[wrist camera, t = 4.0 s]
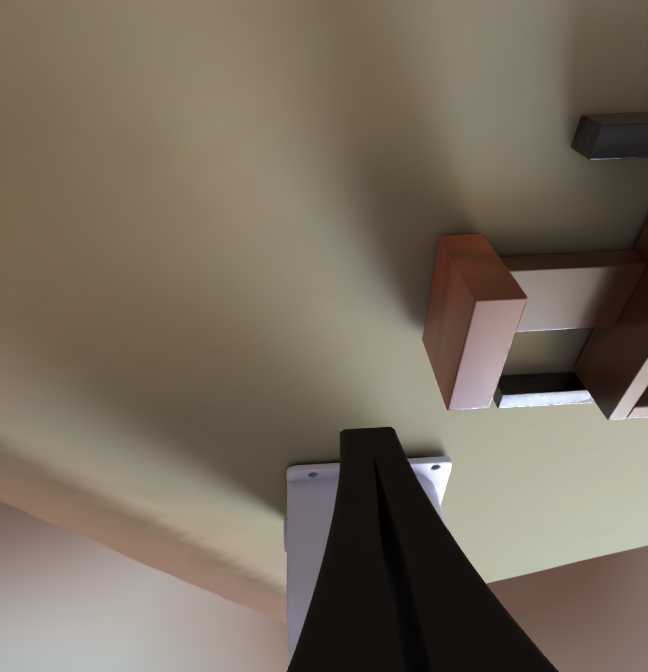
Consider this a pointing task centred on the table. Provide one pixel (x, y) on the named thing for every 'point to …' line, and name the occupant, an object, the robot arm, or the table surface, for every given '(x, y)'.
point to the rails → (595, 144)
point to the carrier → (538, 319)
